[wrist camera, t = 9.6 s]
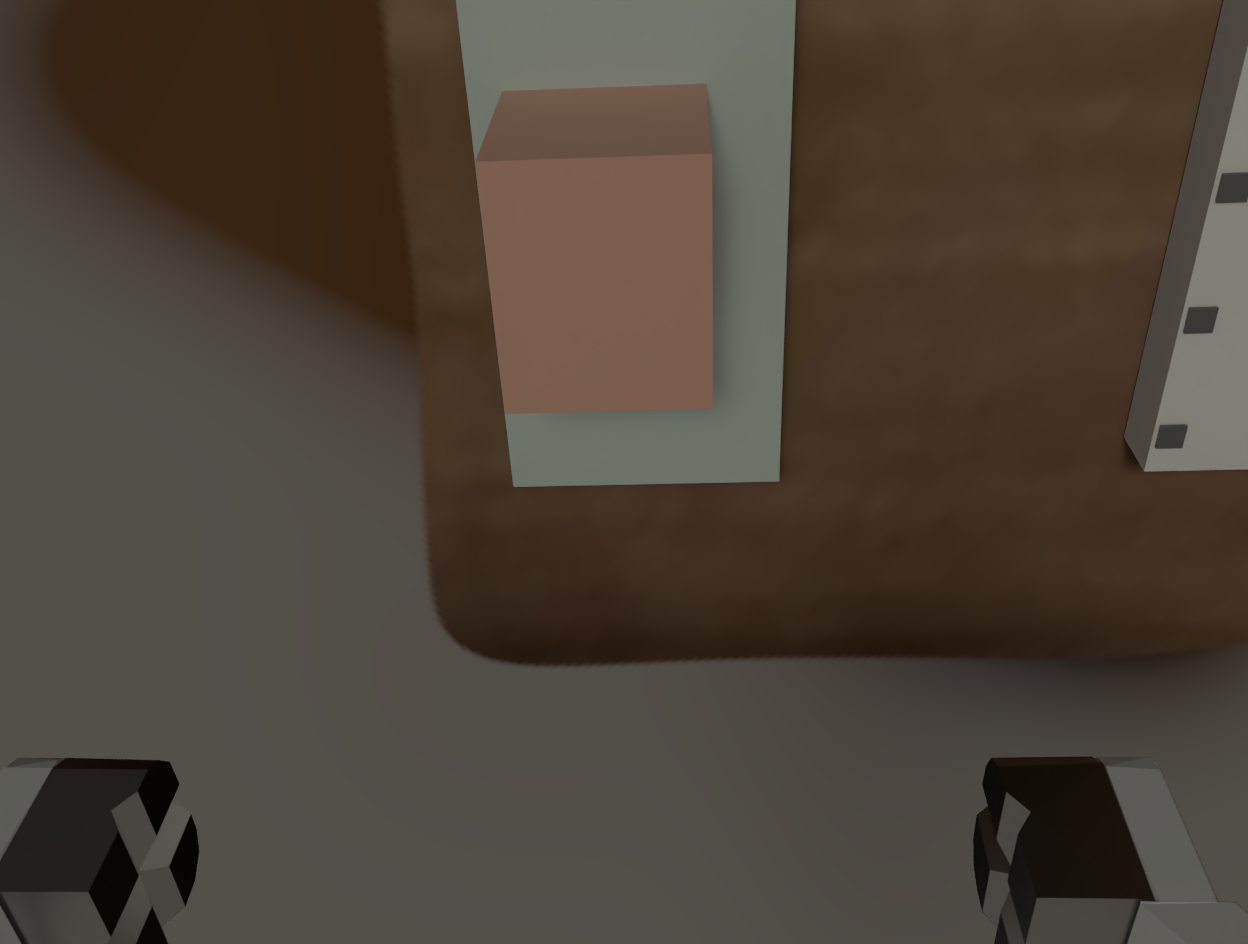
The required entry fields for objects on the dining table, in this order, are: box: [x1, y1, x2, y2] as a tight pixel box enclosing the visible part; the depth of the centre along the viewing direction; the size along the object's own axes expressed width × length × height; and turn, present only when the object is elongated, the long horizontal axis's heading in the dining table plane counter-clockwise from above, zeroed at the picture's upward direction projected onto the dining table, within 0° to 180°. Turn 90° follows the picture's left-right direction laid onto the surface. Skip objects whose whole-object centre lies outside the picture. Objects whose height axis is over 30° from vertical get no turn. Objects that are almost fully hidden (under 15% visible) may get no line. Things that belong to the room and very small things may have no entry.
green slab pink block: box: [456, 0, 796, 487], centre depth 24 cm, size 6×14×6 cm, turn 3°
